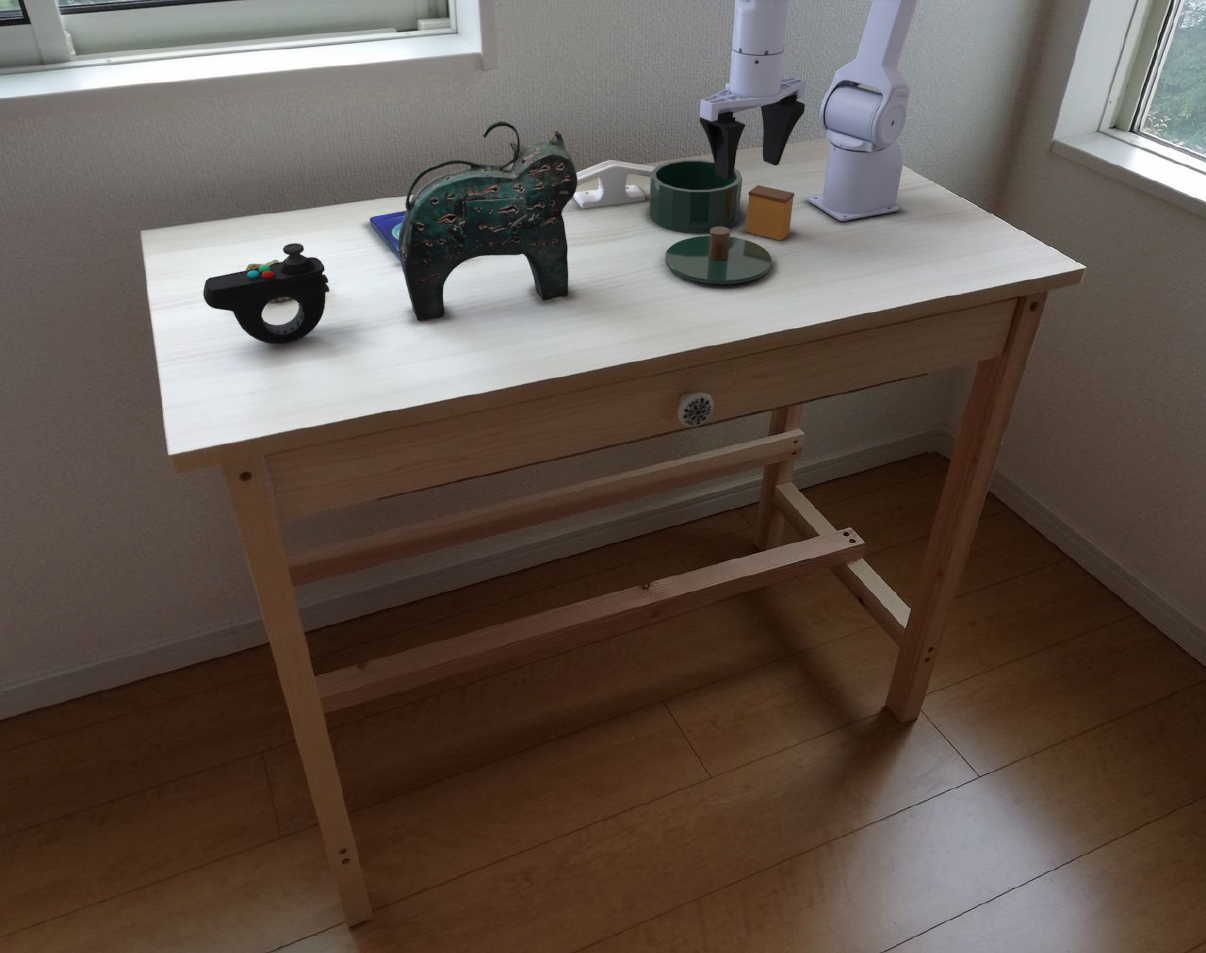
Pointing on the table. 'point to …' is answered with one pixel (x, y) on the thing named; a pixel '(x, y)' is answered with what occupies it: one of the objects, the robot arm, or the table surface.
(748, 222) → the brown block
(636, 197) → the mooring cleat
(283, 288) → the controller
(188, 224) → the table surface
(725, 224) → the pot
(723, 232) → the lid
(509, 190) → the ceramic cat
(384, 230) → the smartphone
